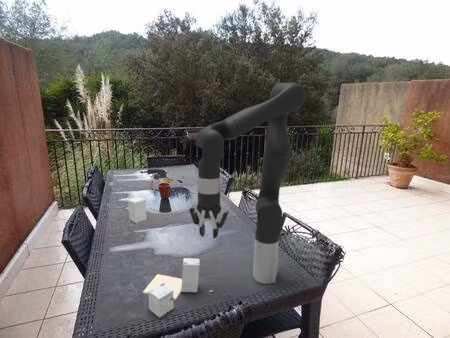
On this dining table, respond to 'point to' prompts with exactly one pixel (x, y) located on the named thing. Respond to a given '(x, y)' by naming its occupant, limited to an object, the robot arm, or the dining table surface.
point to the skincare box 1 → (161, 299)
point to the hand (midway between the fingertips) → (208, 236)
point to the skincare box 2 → (190, 275)
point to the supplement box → (137, 209)
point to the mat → (167, 280)
